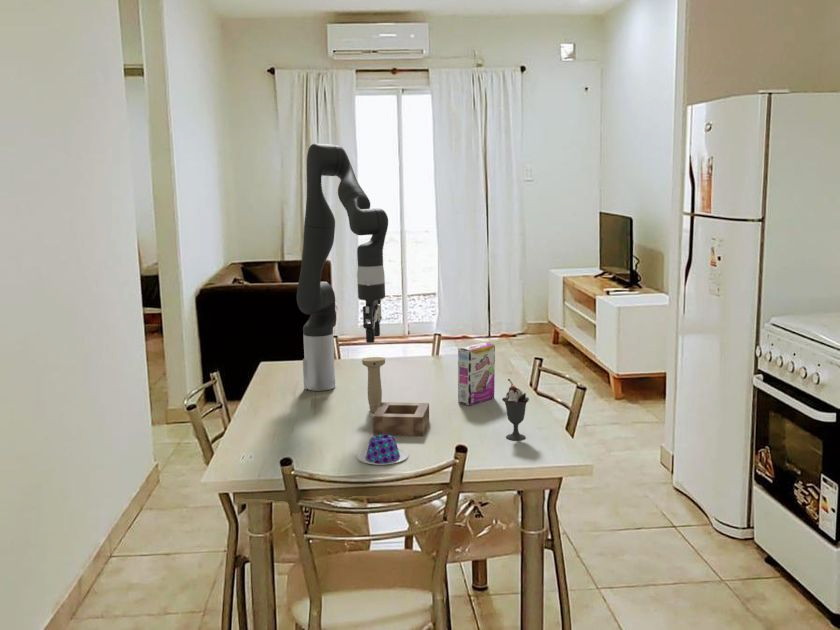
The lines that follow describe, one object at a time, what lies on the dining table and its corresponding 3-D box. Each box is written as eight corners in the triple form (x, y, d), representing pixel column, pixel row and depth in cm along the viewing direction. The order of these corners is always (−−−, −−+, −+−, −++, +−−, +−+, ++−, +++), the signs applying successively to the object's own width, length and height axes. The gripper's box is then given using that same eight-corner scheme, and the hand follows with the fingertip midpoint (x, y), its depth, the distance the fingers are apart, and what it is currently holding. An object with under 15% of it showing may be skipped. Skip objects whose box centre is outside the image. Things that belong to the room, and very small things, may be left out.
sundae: (501, 433, 216) (501, 376, 214) (527, 433, 216) (527, 376, 213) (503, 441, 210) (502, 383, 207) (530, 441, 210) (530, 383, 207)
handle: (387, 412, 237) (385, 360, 234) (364, 413, 236) (362, 361, 234) (385, 407, 242) (384, 356, 239) (363, 409, 241) (361, 357, 238)
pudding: (386, 446, 209) (385, 426, 208) (418, 458, 200) (418, 437, 199) (347, 458, 201) (346, 437, 200) (379, 471, 192) (378, 449, 191)
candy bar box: (470, 406, 241) (469, 350, 238) (457, 403, 245) (456, 347, 242) (495, 398, 249) (495, 343, 246) (483, 395, 252) (482, 341, 250)
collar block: (373, 434, 217) (372, 416, 217) (382, 419, 230) (381, 402, 229) (423, 436, 216) (422, 417, 215) (429, 420, 228) (429, 403, 227)
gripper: (362, 278, 240) (365, 334, 243) (352, 285, 226) (354, 344, 229) (388, 278, 239) (390, 334, 242) (379, 285, 225) (382, 344, 228)
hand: (373, 339), depth 235 cm, fingers open, 8 cm apart
